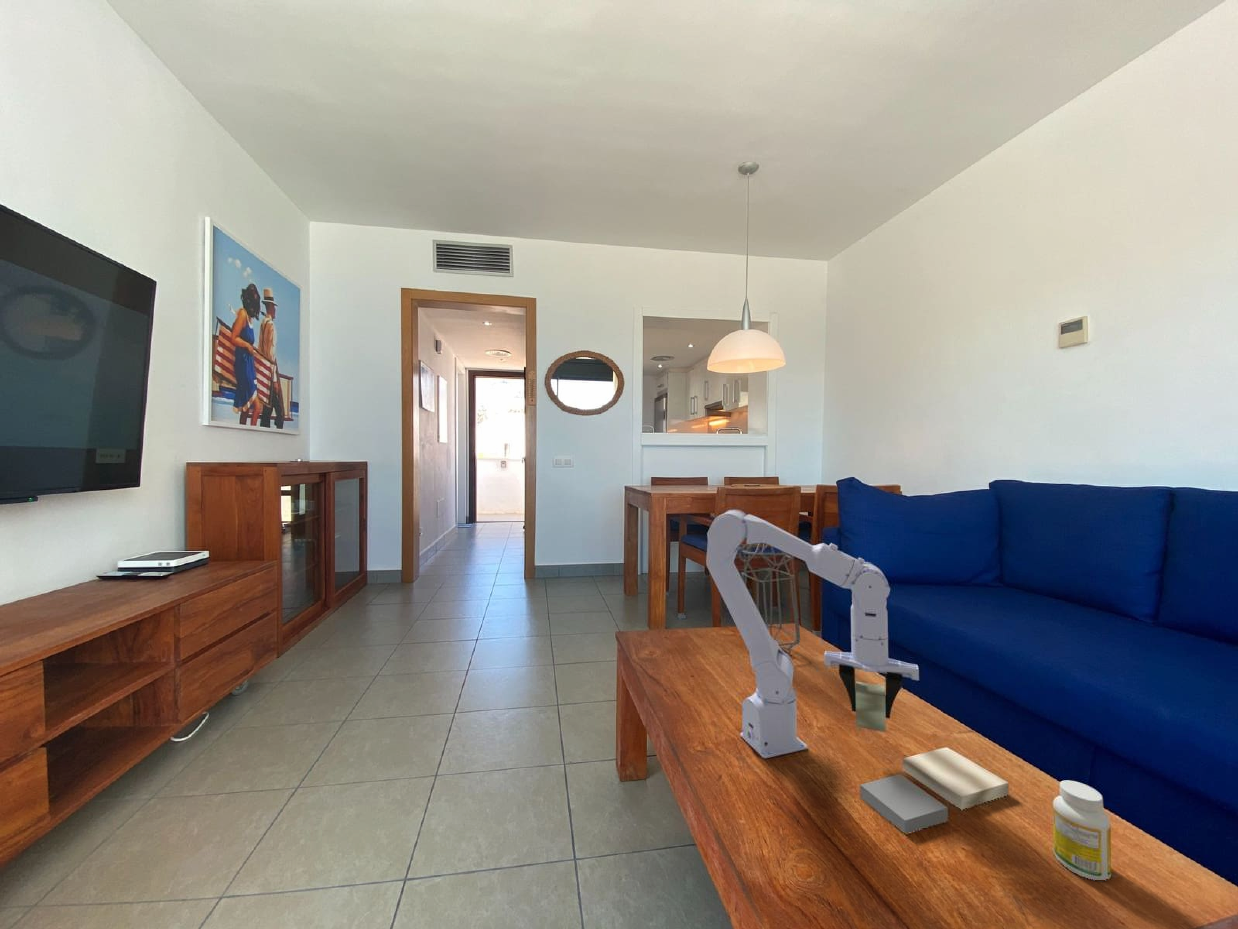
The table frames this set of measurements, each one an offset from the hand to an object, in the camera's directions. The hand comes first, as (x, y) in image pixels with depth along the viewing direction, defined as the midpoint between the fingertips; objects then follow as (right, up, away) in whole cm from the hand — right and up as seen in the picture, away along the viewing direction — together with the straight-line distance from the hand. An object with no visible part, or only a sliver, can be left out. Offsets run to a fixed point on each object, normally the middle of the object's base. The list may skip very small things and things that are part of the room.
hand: (870, 712), depth 84 cm
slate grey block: (-2, -8, -12) cm, 15 cm away
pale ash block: (+10, -8, -6) cm, 15 cm away
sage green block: (0, -2, 0) cm, 2 cm away
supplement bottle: (+15, -8, -22) cm, 28 cm away
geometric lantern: (-3, -9, +49) cm, 49 cm away
